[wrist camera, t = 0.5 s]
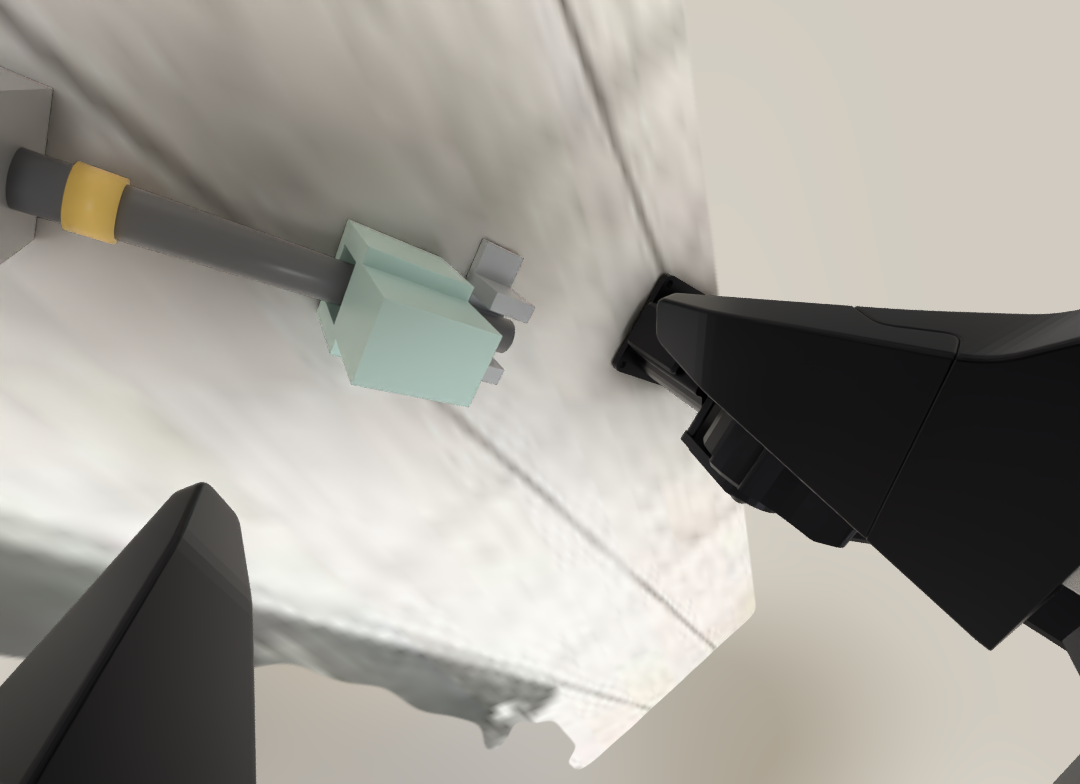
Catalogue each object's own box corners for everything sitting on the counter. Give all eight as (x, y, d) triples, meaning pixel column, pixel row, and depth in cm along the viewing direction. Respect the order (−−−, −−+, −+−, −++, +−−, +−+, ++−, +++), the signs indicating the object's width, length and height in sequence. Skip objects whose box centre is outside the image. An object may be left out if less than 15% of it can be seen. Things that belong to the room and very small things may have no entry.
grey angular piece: (517, 254, 22) (564, 285, 19) (460, 379, 24) (494, 425, 21) (-129, -51, 10) (-299, -111, 7) (-133, 240, 12) (-266, 297, 9)
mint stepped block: (441, 257, 20) (510, 319, 15) (408, 337, 21) (461, 421, 16) (348, 218, 17) (392, 277, 12) (316, 311, 19) (344, 401, 13)
